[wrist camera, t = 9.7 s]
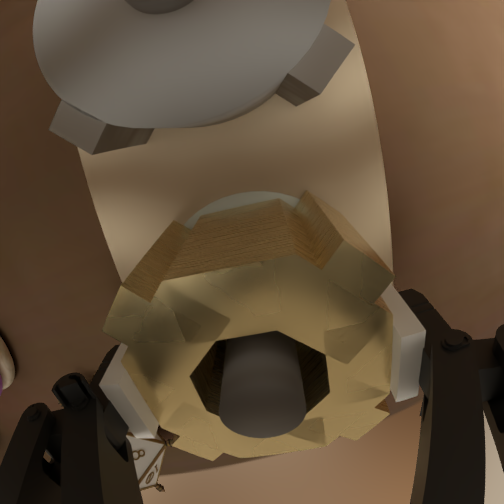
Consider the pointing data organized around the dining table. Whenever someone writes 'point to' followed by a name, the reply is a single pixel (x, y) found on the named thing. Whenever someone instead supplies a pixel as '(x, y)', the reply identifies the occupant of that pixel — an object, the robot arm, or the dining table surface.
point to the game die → (147, 458)
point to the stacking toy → (5, 367)
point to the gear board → (217, 139)
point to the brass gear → (258, 321)
